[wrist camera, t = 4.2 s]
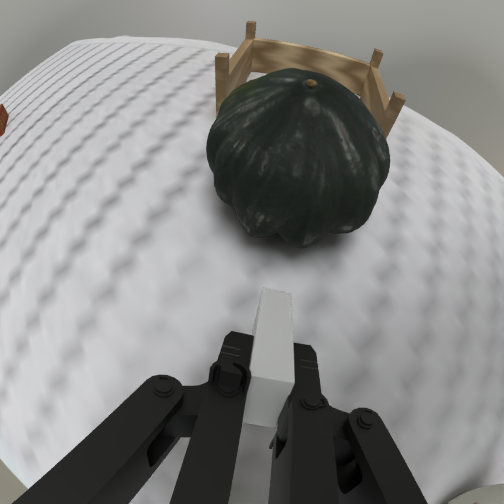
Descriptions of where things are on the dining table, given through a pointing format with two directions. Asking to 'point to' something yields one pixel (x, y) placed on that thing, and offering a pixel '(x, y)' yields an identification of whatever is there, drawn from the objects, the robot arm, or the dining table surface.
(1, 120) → the carton
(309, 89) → the squash
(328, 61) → the rack
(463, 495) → the pitcher
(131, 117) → the dining table surface
